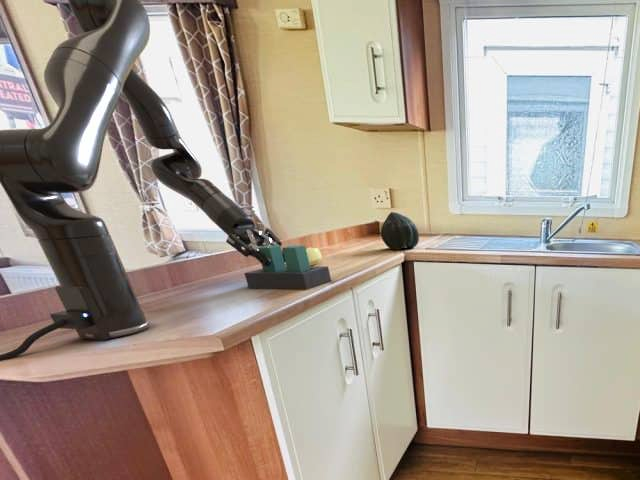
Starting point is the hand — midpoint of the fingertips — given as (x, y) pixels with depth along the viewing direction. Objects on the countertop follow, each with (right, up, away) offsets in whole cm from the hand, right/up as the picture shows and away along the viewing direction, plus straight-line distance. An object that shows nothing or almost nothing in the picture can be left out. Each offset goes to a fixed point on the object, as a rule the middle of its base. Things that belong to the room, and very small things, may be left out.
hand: (278, 262), depth 114 cm
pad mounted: (+6, -6, +1) cm, 9 cm away
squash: (+17, +24, +63) cm, 69 cm away
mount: (+2, -6, +2) cm, 6 cm away
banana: (-9, +7, +31) cm, 33 cm away
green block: (-1, -5, +3) cm, 6 cm away
